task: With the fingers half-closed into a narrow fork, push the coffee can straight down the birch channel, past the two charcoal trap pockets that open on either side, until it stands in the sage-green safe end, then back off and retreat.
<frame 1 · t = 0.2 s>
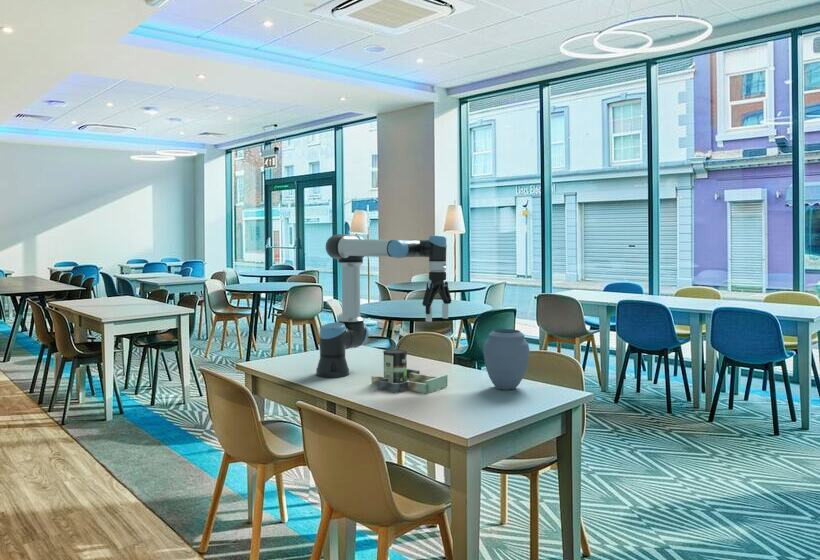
hand: (437, 319, 286), 28 cm above the table, fingers open, 13 cm apart
safe end: (432, 382, 276), on the table
coffee can: (395, 383, 287), on the table
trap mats: (408, 385, 283), on the table
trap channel: (408, 385, 283), on the table
vase: (505, 388, 278), on the table
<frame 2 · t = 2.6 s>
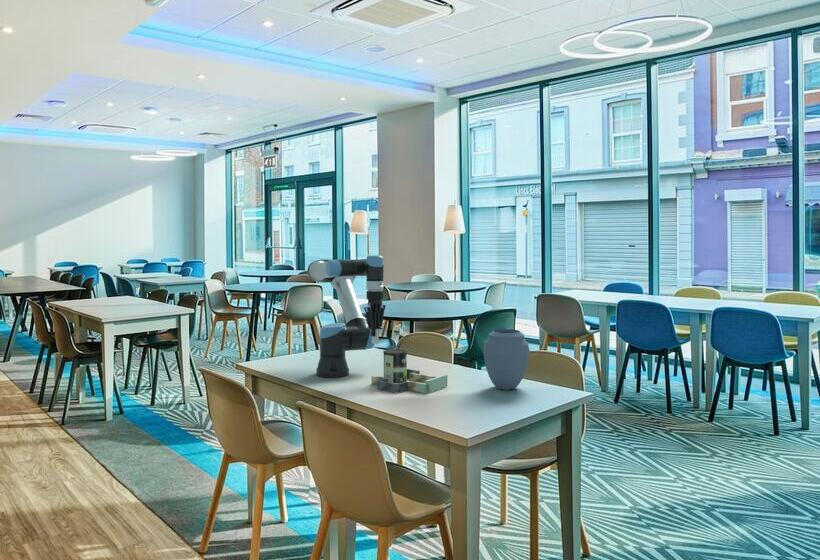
hand: (375, 343, 292), 16 cm above the table, fingers closed
nothing on the table moved.
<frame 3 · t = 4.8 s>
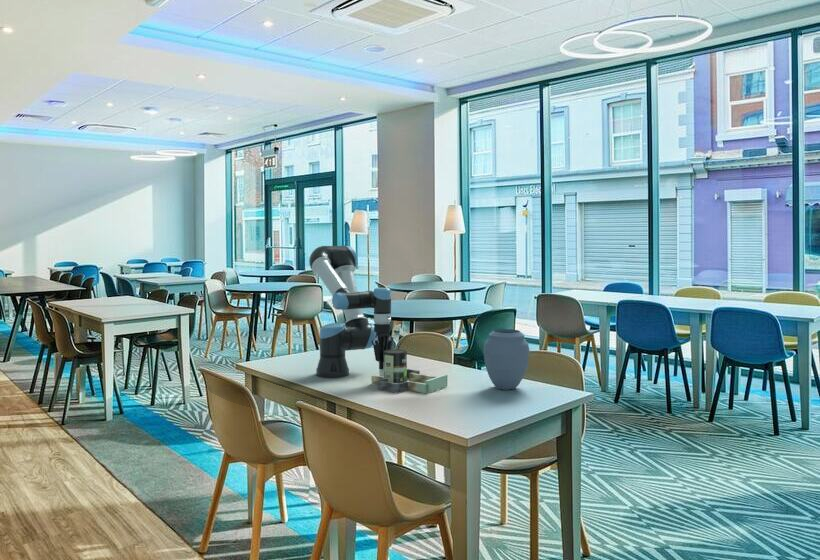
hand: (382, 376, 290), 2 cm above the table, fingers closed
coffee can: (395, 383, 287), on the table, touching gripper
everything else where it was.
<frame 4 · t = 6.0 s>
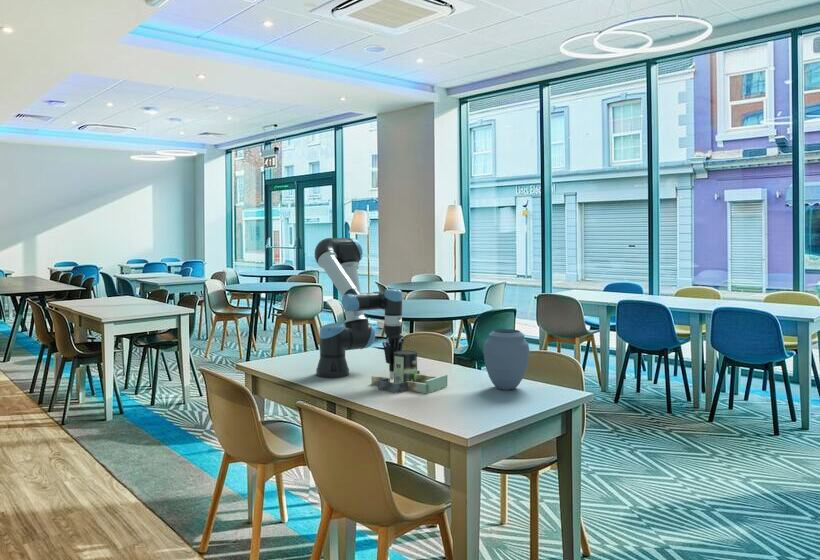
hand: (393, 378, 287), 2 cm above the table, fingers closed
coffee can: (405, 385, 284), on the table, touching gripper
everything else where it was.
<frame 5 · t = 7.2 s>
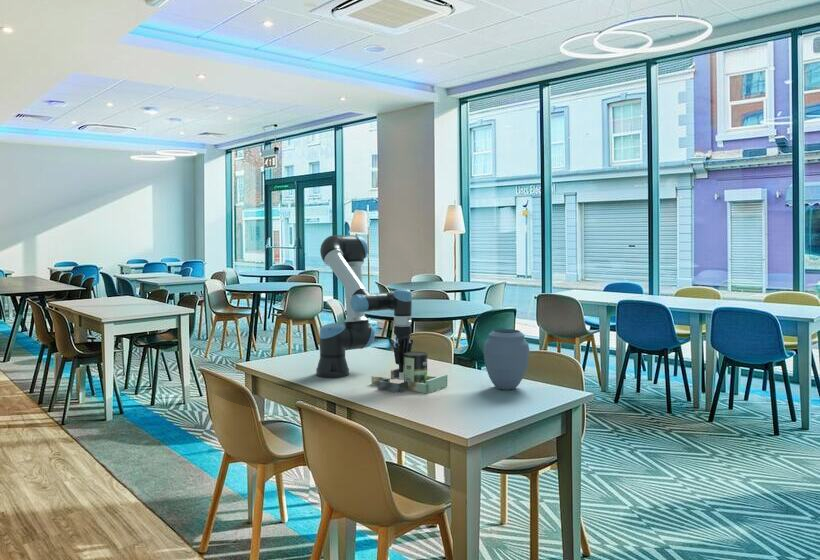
hand: (402, 379, 284), 2 cm above the table, fingers closed
coffee can: (415, 386, 281), on the table, touching gripper
everything else where it was.
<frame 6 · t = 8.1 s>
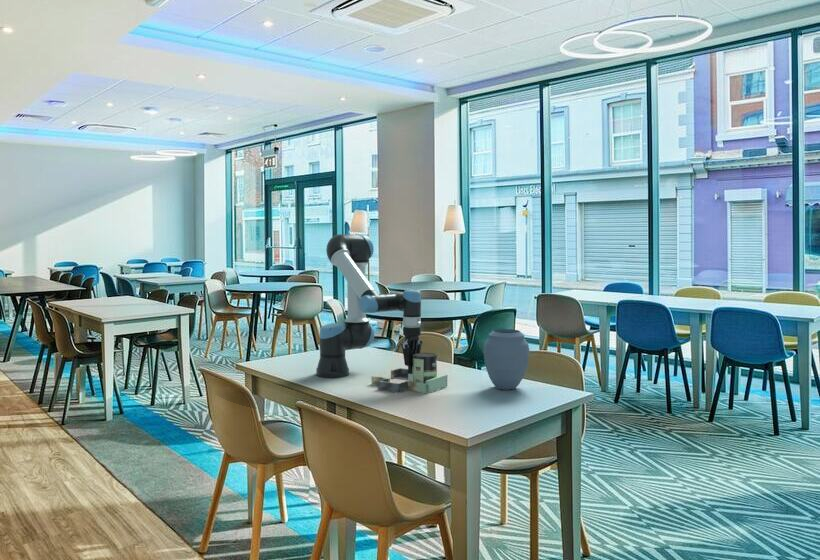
hand: (411, 380, 282), 2 cm above the table, fingers closed
coffee can: (424, 387, 278), on the table, touching gripper
everything else where it was.
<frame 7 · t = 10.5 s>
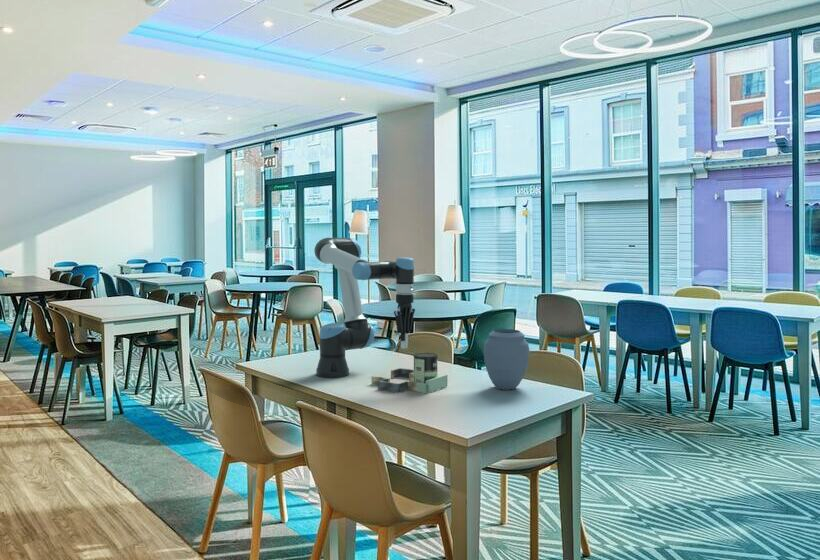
hand: (404, 348, 283), 16 cm above the table, fingers closed
coffee can: (425, 388, 278), on the table
everything else where it was.
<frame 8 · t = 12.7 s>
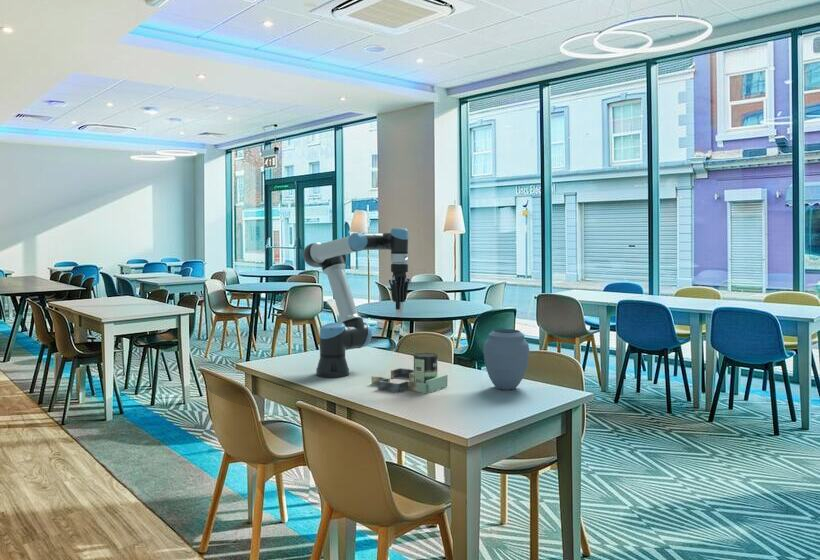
hand: (399, 316, 291), 28 cm above the table, fingers closed
nothing on the table moved.
at the end: coffee can inside the target area (0.9 cm from its centre), on the table; coffee can tilted 0°; coffee can moved 15.6 cm from its start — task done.
